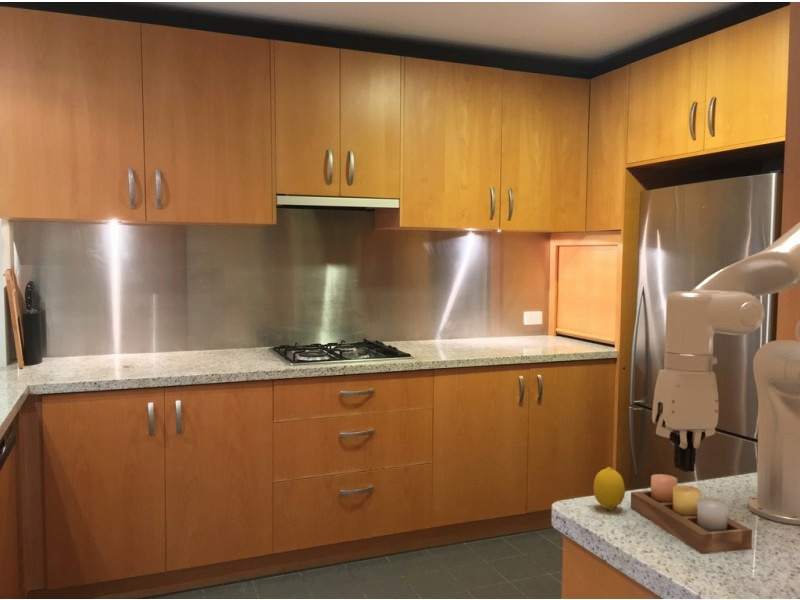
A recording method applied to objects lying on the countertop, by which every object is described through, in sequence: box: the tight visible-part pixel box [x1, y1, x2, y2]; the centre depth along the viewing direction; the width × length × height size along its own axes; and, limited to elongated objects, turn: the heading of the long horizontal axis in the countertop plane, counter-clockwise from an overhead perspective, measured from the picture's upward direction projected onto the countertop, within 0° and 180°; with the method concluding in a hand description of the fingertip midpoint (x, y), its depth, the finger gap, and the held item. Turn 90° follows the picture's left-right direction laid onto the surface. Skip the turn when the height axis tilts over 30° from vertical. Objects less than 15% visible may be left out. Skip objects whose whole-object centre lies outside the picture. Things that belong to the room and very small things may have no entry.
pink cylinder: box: [650, 473, 678, 503], centre depth 116 cm, size 4×4×4 cm
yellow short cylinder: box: [673, 484, 702, 517], centre depth 110 cm, size 4×4×4 cm
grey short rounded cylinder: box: [697, 497, 729, 532], centre depth 103 cm, size 4×4×4 cm
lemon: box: [592, 466, 626, 511], centre depth 118 cm, size 6×6×8 cm
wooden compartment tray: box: [630, 490, 753, 555], centre depth 110 cm, size 9×20×3 cm, turn 11°
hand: (684, 469), depth 109 cm, fingers closed
